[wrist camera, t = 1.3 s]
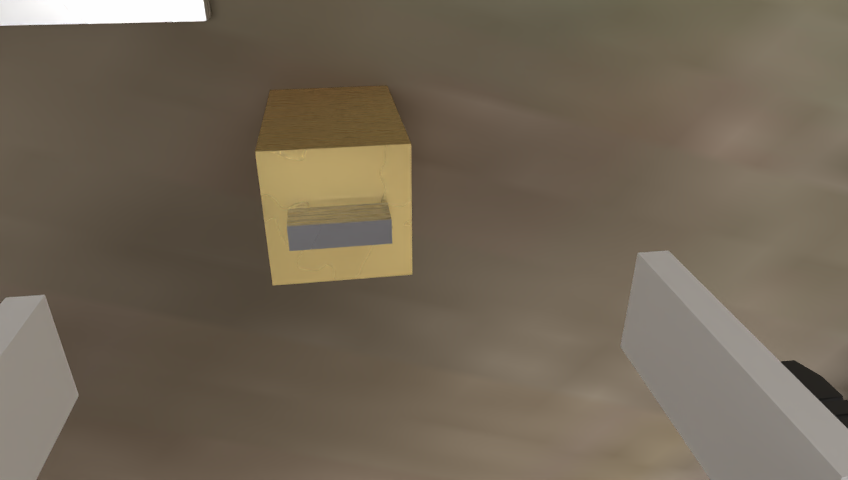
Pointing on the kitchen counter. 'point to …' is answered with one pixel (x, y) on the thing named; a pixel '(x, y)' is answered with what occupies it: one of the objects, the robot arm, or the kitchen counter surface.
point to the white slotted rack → (101, 11)
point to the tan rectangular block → (335, 185)
